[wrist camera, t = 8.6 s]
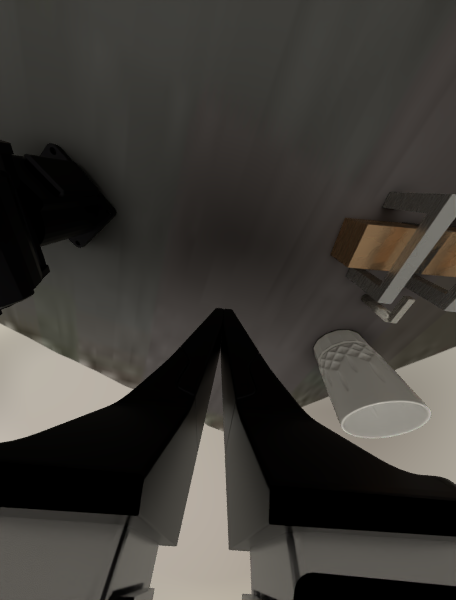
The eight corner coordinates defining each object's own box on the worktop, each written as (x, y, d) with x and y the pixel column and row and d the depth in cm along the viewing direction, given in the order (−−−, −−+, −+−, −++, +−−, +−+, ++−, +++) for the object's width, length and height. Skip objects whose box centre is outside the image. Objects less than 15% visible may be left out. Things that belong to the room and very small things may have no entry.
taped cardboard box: (330, 254, 19) (347, 267, 16) (345, 217, 17) (368, 223, 14) (442, 265, 19) (481, 279, 16) (471, 228, 17) (522, 237, 14)
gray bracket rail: (334, 297, 21) (360, 327, 17) (390, 192, 15) (452, 194, 11) (392, 304, 22) (432, 335, 17) (469, 202, 16) (564, 208, 11)
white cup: (341, 316, 23) (399, 391, 15) (379, 341, 25) (449, 419, 17) (297, 350, 27) (324, 424, 18) (333, 369, 29) (372, 444, 20)
